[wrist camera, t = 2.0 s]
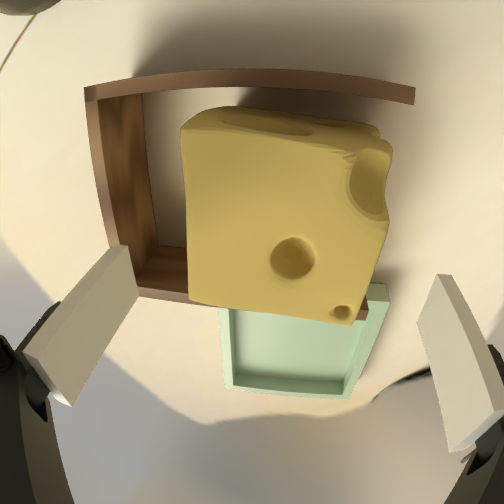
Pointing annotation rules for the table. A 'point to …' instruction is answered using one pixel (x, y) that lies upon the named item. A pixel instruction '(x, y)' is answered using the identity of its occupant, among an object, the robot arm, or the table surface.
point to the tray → (298, 351)
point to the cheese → (283, 211)
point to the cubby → (136, 169)
